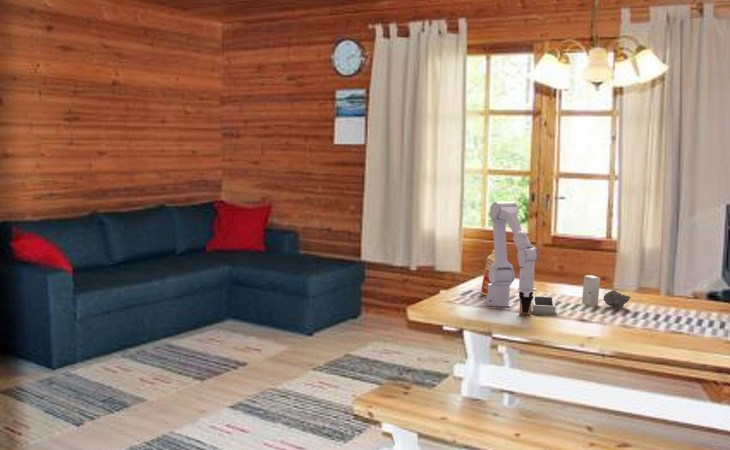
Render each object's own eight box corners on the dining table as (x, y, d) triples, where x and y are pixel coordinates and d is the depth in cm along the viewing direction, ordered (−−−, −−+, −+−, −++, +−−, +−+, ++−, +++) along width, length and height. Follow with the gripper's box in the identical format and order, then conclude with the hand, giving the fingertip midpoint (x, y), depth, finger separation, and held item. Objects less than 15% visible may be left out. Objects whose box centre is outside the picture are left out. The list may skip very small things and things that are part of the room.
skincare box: (581, 302, 307) (583, 275, 305) (590, 302, 308) (591, 274, 307) (590, 305, 301) (591, 278, 300) (599, 305, 302) (600, 277, 301)
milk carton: (480, 293, 323) (481, 250, 320) (497, 291, 327) (498, 249, 324) (491, 297, 315) (493, 253, 312) (508, 295, 318) (510, 252, 316)
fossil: (631, 307, 299) (633, 289, 298) (628, 312, 291) (629, 293, 290) (604, 304, 304) (605, 286, 303) (600, 308, 297) (601, 289, 296)
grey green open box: (531, 313, 285) (531, 301, 285) (530, 307, 296) (531, 295, 296) (556, 315, 283) (557, 303, 283) (555, 309, 294) (555, 297, 294)
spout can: (519, 316, 281) (519, 300, 280) (518, 313, 286) (519, 297, 285) (531, 316, 280) (532, 301, 279) (531, 314, 285) (531, 298, 284)
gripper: (537, 281, 273) (536, 315, 275) (536, 274, 287) (535, 307, 289) (519, 280, 275) (517, 314, 276) (518, 273, 289) (517, 306, 290)
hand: (525, 310), depth 283 cm, fingers closed on spout can, 5 cm apart
